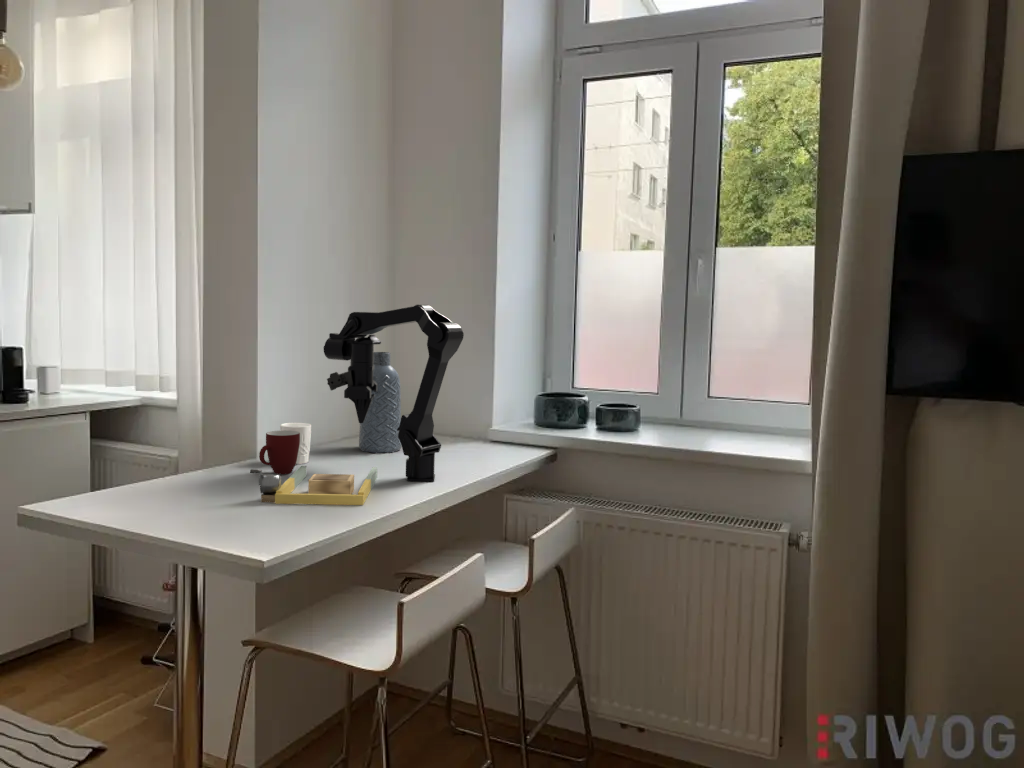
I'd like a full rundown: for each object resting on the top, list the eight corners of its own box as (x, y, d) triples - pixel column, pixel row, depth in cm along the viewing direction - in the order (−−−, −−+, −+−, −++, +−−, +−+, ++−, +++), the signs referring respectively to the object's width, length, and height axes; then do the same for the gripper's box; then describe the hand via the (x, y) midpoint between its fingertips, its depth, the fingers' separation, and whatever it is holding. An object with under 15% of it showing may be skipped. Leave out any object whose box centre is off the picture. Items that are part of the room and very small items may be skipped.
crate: (353, 491, 188) (354, 473, 188) (350, 499, 181) (350, 480, 181) (313, 491, 188) (313, 473, 187) (308, 498, 181) (308, 479, 180)
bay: (377, 477, 203) (377, 467, 203) (363, 505, 175) (363, 493, 175) (301, 475, 202) (301, 465, 202) (274, 503, 174) (275, 491, 174)
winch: (281, 498, 179) (281, 467, 179) (277, 502, 175) (277, 471, 175) (253, 497, 179) (253, 467, 178) (248, 502, 175) (248, 471, 174)
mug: (274, 479, 197) (274, 438, 196) (250, 475, 201) (250, 434, 200) (306, 472, 206) (306, 432, 205) (283, 468, 210) (283, 429, 209)
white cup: (309, 458, 224) (309, 422, 223) (312, 464, 216) (312, 426, 215) (279, 459, 221) (279, 422, 220) (280, 465, 214) (281, 427, 213)
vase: (350, 449, 239) (351, 351, 236) (379, 444, 249) (380, 350, 246) (380, 455, 232) (382, 354, 230) (409, 449, 242) (411, 353, 239)
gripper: (335, 358, 218) (335, 417, 219) (323, 363, 199) (322, 427, 201) (378, 359, 219) (377, 418, 220) (369, 364, 200) (369, 428, 201)
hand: (361, 422), depth 211 cm, fingers closed
